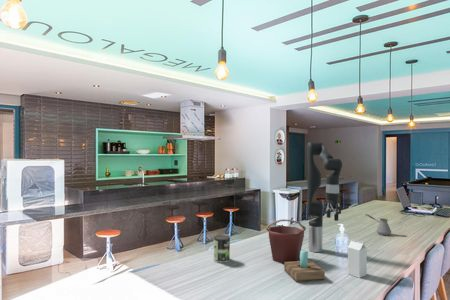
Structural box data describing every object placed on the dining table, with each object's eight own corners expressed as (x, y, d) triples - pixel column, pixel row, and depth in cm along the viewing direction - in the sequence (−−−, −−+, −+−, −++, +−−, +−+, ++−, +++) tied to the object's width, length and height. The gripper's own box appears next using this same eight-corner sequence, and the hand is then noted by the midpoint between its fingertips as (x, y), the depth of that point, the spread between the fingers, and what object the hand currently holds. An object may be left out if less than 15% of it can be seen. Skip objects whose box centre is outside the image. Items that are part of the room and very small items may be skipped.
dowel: (298, 272, 171) (299, 250, 171) (305, 271, 171) (305, 250, 172) (301, 275, 167) (302, 252, 167) (308, 274, 167) (309, 252, 168)
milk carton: (359, 278, 166) (359, 242, 166) (347, 274, 172) (347, 239, 172) (366, 275, 170) (366, 240, 170) (354, 271, 176) (354, 237, 176)
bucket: (306, 256, 201) (307, 218, 201) (303, 268, 180) (303, 225, 180) (269, 252, 209) (270, 215, 209) (262, 262, 188) (262, 221, 189)
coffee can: (232, 259, 194) (233, 236, 194) (224, 263, 185) (224, 240, 186) (219, 256, 200) (219, 234, 200) (210, 260, 191) (210, 237, 191)
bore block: (284, 270, 175) (284, 262, 175) (310, 269, 178) (310, 260, 178) (296, 282, 160) (296, 272, 160) (324, 280, 163) (324, 270, 163)
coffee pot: (393, 234, 259) (393, 216, 259) (388, 237, 251) (388, 218, 251) (367, 229, 275) (368, 213, 275) (362, 231, 267) (362, 214, 267)
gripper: (320, 190, 190) (320, 216, 190) (333, 193, 176) (333, 221, 176) (331, 190, 192) (331, 216, 191) (345, 193, 178) (344, 221, 177)
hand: (332, 219), depth 184 cm, fingers open, 8 cm apart
